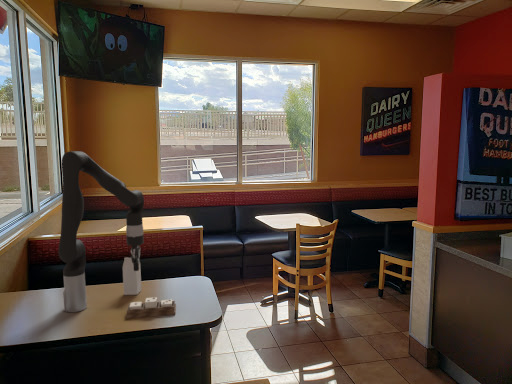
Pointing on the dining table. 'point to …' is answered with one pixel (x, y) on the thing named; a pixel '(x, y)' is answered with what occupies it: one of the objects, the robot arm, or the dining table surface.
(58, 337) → the dining table surface
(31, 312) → the dining table surface
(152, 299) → the tile two
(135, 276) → the milk carton
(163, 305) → the tile three
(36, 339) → the dining table surface
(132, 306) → the tile one
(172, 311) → the brown tile tray
